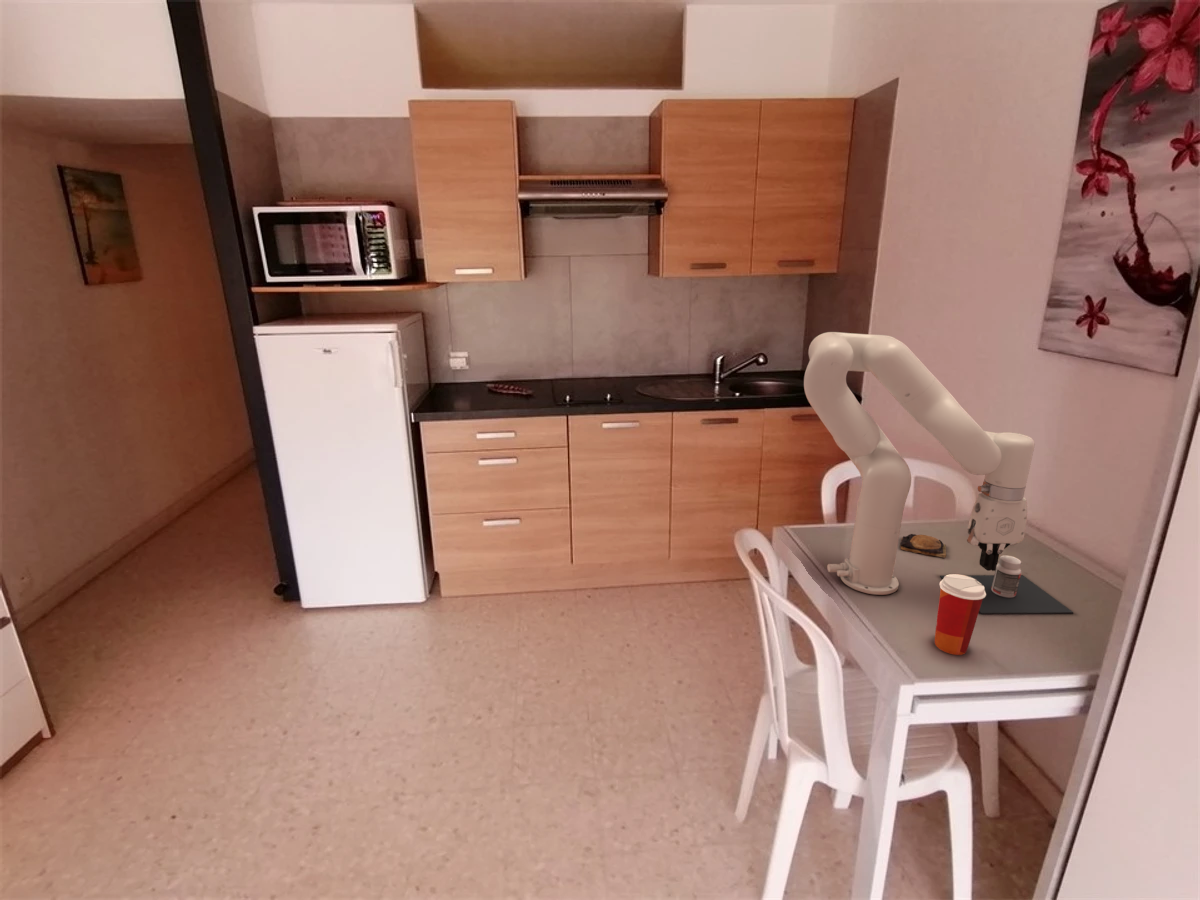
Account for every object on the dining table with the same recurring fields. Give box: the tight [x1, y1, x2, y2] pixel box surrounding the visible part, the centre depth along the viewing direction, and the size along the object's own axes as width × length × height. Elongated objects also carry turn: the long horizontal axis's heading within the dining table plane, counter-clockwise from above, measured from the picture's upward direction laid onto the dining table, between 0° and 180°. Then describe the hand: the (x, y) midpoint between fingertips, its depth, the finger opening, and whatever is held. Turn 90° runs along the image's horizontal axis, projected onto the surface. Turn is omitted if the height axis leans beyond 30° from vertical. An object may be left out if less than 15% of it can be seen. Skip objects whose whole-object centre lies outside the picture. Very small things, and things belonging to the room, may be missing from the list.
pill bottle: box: [991, 554, 1022, 598], centre depth 137 cm, size 5×5×8 cm
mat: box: [939, 574, 1074, 615], centre depth 138 cm, size 20×16×1 cm
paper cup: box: [934, 573, 986, 656], centre depth 117 cm, size 8×8×14 cm
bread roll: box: [900, 533, 947, 559], centre depth 159 cm, size 11×8×4 cm
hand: (987, 567), depth 136 cm, fingers closed
